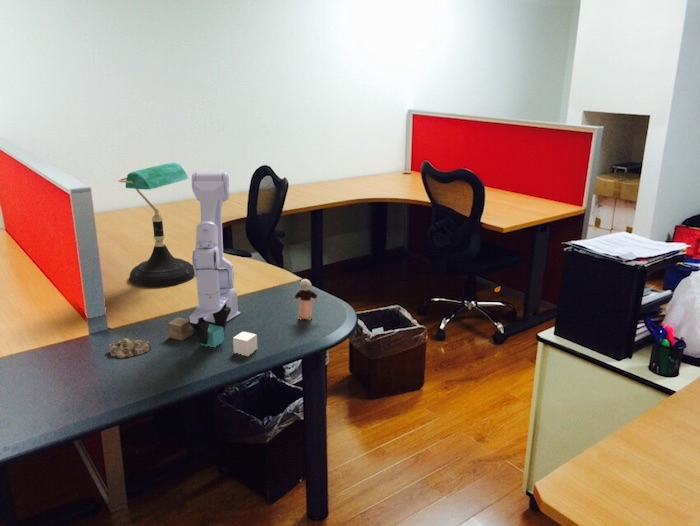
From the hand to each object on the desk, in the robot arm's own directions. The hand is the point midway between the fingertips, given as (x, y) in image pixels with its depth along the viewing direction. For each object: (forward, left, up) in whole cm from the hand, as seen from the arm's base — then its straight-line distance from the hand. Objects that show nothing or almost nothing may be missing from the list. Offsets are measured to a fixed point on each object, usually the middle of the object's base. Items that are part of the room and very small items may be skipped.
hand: (212, 337), depth 161 cm
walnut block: (0, -11, -2) cm, 11 cm away
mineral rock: (+13, -17, -2) cm, 22 cm away
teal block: (0, 0, -2) cm, 2 cm away
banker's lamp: (-37, -51, -2) cm, 63 cm away
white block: (0, +11, -2) cm, 11 cm away
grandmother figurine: (-26, +15, -2) cm, 30 cm away
